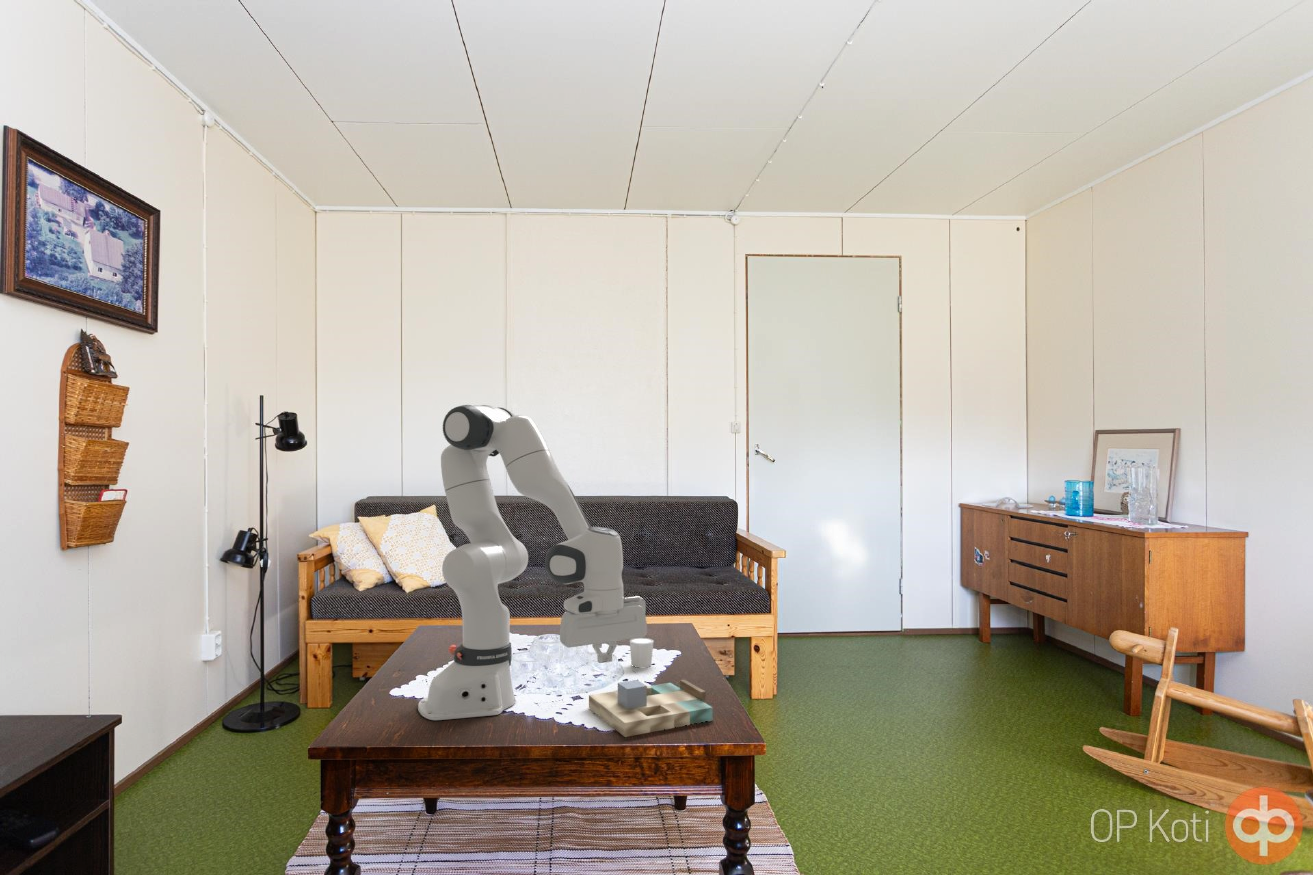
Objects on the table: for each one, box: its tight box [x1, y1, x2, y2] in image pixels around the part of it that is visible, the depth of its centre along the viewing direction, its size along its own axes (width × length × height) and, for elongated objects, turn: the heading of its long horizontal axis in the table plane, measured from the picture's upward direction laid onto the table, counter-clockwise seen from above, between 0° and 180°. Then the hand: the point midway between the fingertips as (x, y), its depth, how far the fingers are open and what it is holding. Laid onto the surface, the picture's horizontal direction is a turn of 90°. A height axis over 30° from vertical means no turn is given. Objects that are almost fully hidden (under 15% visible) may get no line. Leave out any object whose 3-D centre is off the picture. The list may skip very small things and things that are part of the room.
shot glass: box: [629, 637, 655, 668], centre depth 215 cm, size 7×7×7 cm
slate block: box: [617, 679, 648, 709], centre depth 173 cm, size 5×5×4 cm
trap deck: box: [588, 679, 714, 738], centre depth 176 cm, size 23×20×5 cm
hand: (604, 661), depth 170 cm, fingers closed
